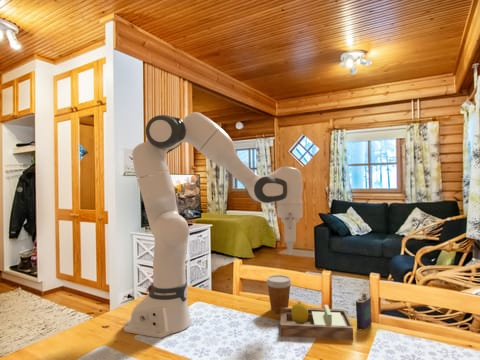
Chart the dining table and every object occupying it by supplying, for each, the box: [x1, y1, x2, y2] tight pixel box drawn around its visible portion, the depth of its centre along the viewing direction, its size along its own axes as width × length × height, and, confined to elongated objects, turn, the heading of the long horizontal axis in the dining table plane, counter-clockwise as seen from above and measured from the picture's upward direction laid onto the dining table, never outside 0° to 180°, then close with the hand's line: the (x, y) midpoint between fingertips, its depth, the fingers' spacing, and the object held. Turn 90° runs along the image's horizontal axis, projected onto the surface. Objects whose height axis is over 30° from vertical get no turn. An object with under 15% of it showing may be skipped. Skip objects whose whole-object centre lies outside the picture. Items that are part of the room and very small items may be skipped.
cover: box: [312, 304, 346, 326], centre depth 100 cm, size 10×10×4 cm
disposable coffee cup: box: [265, 274, 292, 315], centre depth 115 cm, size 10×10×12 cm
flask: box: [355, 292, 372, 331], centre depth 102 cm, size 9×3×11 cm, turn 138°
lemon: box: [291, 300, 308, 324], centre depth 101 cm, size 6×6×8 cm
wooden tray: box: [279, 307, 354, 341], centre depth 101 cm, size 22×14×4 cm, turn 82°
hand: (289, 251), depth 107 cm, fingers open, 8 cm apart
